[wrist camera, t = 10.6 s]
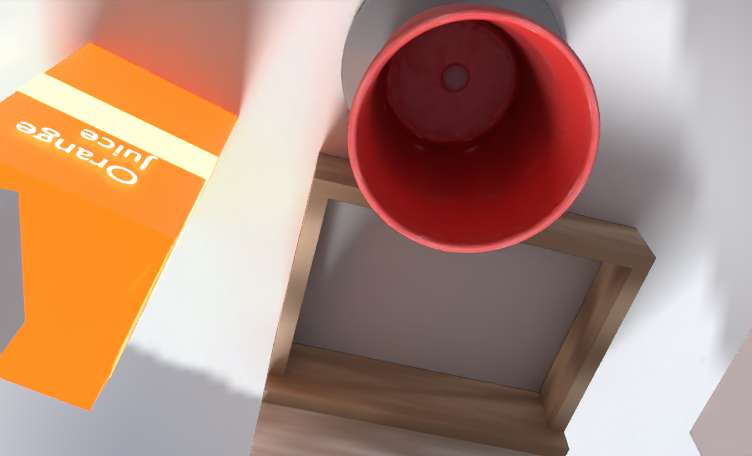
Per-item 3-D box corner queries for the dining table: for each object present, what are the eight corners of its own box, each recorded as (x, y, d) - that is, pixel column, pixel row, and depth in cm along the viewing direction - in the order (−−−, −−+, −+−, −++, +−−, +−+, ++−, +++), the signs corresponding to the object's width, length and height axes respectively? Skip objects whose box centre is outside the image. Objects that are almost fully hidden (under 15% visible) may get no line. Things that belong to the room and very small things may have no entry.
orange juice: (190, 220, 42) (59, 482, 25) (48, 156, 40) (-204, 392, 23) (241, 113, 39) (132, 328, 21) (89, 38, 37) (-168, 206, 19)
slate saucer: (372, -73, 34) (372, -72, 34) (596, -10, 36) (599, -8, 35) (320, 145, 40) (320, 149, 39) (516, 192, 41) (518, 196, 41)
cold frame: (318, 152, 40) (275, 388, 23) (635, 228, 43) (818, 493, 25) (266, 375, 48) (203, 676, 31) (535, 428, 51) (620, 735, 33)
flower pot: (549, -44, 34) (607, -10, 26) (550, 157, 40) (598, 241, 31) (339, -16, 35) (328, 26, 27) (367, 179, 40) (365, 267, 32)
